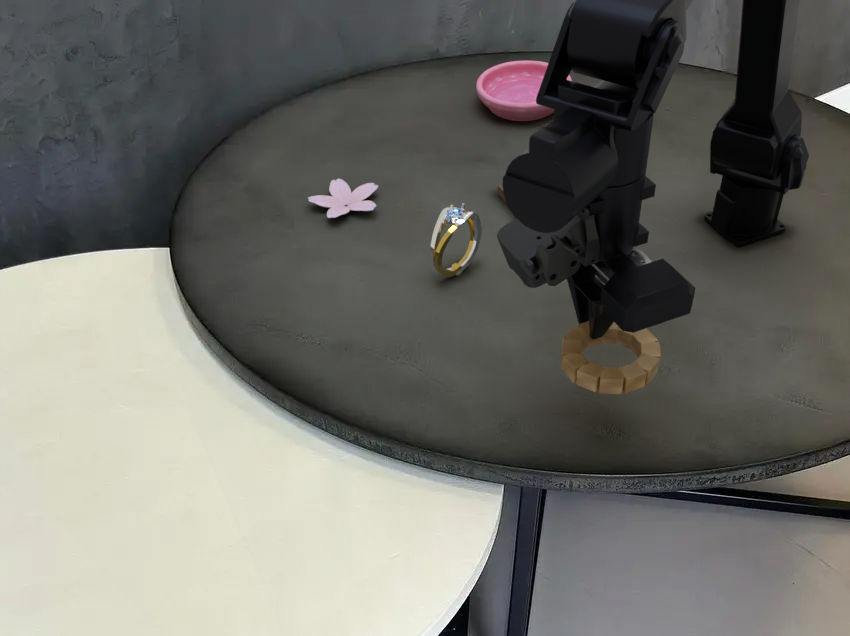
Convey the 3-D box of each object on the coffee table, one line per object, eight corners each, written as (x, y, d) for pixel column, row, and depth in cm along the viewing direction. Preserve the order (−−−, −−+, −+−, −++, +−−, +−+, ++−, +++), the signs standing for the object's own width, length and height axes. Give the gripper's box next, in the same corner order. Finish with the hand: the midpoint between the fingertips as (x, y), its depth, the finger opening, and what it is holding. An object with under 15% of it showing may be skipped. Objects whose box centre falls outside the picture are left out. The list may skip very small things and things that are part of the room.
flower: (360, 239, 112) (359, 227, 111) (288, 220, 116) (286, 208, 115) (402, 196, 118) (402, 184, 117) (332, 179, 121) (330, 167, 120)
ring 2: (624, 322, 89) (626, 307, 87) (676, 375, 84) (679, 361, 82) (544, 349, 87) (545, 334, 86) (592, 405, 82) (593, 391, 81)
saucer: (575, 125, 126) (577, 101, 124) (478, 130, 127) (478, 106, 125) (565, 80, 135) (567, 57, 132) (474, 85, 135) (474, 62, 133)
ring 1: (443, 293, 105) (441, 227, 99) (423, 281, 106) (419, 215, 100) (490, 265, 108) (490, 200, 102) (469, 253, 109) (468, 188, 103)
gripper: (459, 140, 79) (461, 300, 91) (576, 260, 67) (562, 425, 79) (581, 106, 81) (568, 266, 93) (715, 216, 70) (681, 383, 81)
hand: (590, 331), depth 86 cm, fingers closed on ring 2, 2 cm apart
